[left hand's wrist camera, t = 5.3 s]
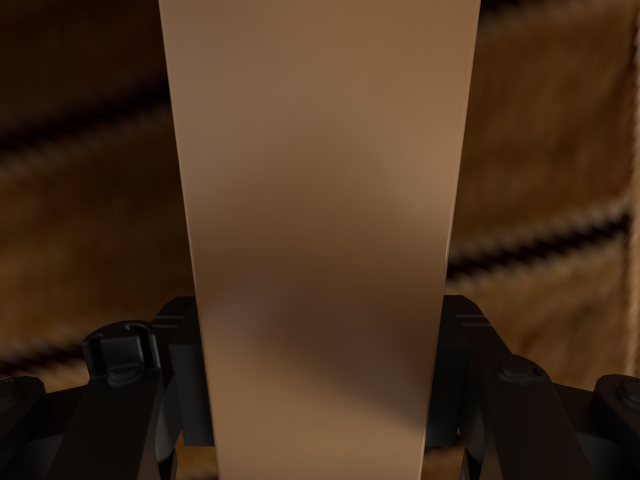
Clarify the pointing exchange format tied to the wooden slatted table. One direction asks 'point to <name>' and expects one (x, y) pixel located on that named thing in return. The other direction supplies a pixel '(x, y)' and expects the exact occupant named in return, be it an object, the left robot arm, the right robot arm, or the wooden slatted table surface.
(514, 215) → the wooden slatted table surface
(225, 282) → the bar
